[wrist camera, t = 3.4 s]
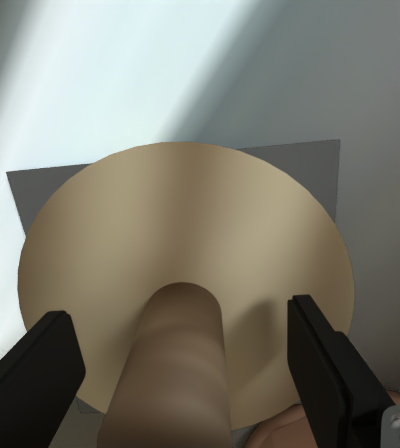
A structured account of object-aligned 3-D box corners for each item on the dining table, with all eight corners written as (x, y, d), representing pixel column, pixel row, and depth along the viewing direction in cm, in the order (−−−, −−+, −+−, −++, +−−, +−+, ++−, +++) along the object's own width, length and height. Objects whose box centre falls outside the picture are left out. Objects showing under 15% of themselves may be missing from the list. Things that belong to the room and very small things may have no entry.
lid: (354, 123, 9) (586, 89, 4) (333, 409, 13) (427, 605, 8) (-10, 160, 10) (-294, 179, 4) (73, 419, 14) (-17, 606, 8)
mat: (334, 139, 10) (340, 139, 10) (320, 395, 14) (324, 402, 13) (13, 171, 11) (5, 172, 10) (84, 406, 14) (80, 413, 14)
